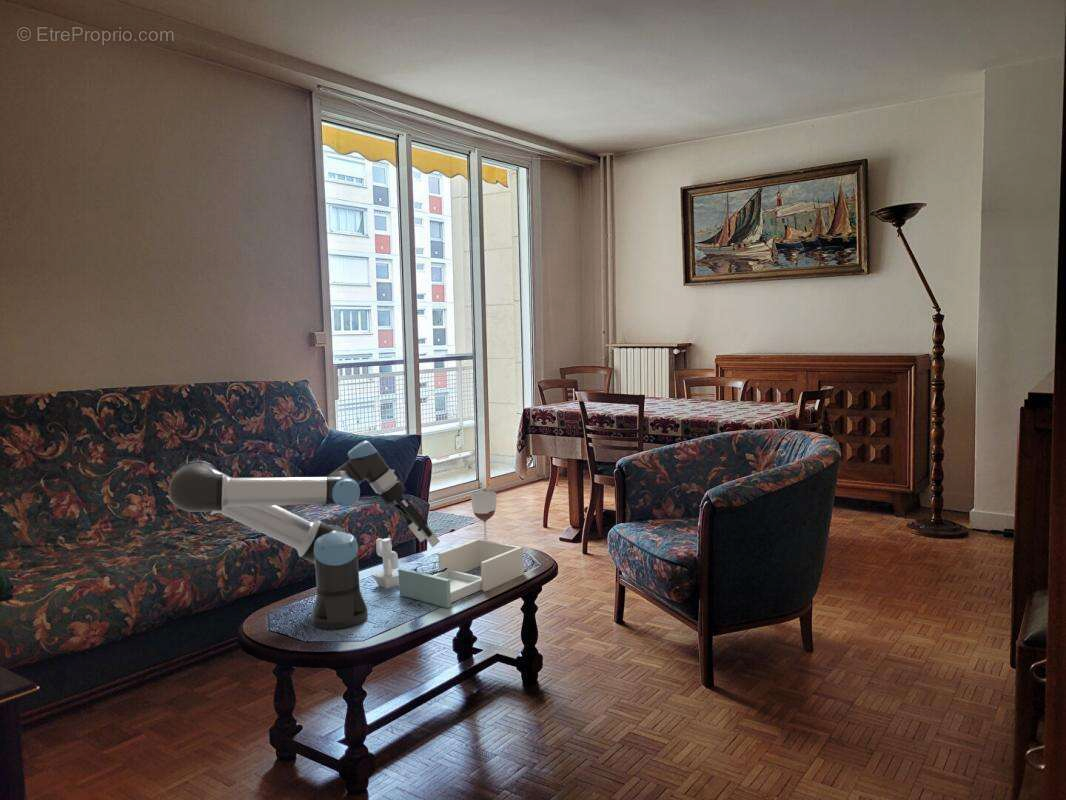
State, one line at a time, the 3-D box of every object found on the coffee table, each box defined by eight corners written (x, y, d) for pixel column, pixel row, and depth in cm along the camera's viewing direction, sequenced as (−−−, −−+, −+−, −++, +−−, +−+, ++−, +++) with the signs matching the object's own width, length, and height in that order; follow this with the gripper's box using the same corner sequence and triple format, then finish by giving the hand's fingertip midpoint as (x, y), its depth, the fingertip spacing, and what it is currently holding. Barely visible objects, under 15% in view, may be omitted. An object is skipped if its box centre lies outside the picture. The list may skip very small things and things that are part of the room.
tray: (447, 607, 222) (446, 580, 221) (399, 594, 234) (398, 569, 233) (491, 588, 237) (490, 563, 236) (443, 577, 249) (442, 553, 248)
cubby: (484, 591, 235) (483, 562, 234) (439, 580, 247) (438, 553, 246) (523, 574, 250) (522, 547, 249) (479, 564, 262) (478, 538, 261)
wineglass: (470, 559, 268) (468, 497, 266) (477, 551, 277) (474, 491, 275) (495, 559, 267) (493, 497, 264) (501, 551, 276) (498, 491, 274)
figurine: (387, 591, 238) (385, 544, 236) (370, 585, 244) (367, 538, 243) (406, 585, 243) (404, 539, 241) (389, 579, 250) (387, 533, 248)
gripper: (408, 480, 220) (451, 538, 224) (388, 477, 243) (428, 529, 247) (387, 497, 218) (431, 555, 222) (369, 492, 241) (410, 545, 245)
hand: (430, 541), depth 235 cm, fingers open, 13 cm apart
